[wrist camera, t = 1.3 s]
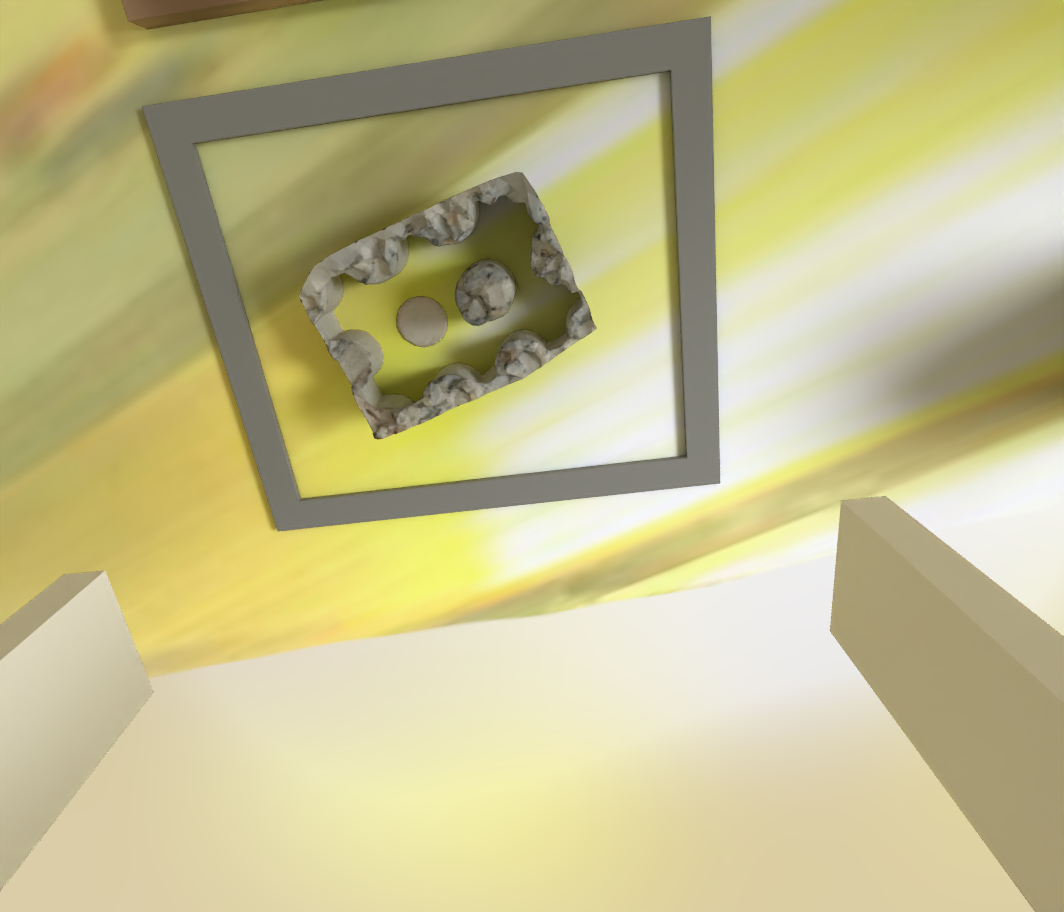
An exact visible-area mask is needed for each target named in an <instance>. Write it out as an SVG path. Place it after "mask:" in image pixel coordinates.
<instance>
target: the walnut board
mask: <svg viewBox="0 0 1064 912" xmlns="http://www.w3.org/2000/svg"><path fill="white" fill-rule="evenodd" d="M314 1H320V0H122V3H123V6H124V9H125V12H126V15H127V19H128V21H129V22H132V23H134V24H137V25H139V26H141V27H144V28H146V29H152V28H158V27H164V26H170V25H176V24H182V23H188V22H194V21H200V20H206V19H212V18H218V17H224V16H230V15H236V14H242V13H248V12H254V11H260V10H266V9H272V8H278V7H284V6H290V5H296V4H302V3H308V2H314Z"/></svg>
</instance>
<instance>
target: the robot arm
mask: <svg viewBox="0 0 1064 912" xmlns="http://www.w3.org/2000/svg"><path fill="white" fill-rule="evenodd" d="M831 614H832V615H831V625H830V632H831V633H832V634H833V636H834V637H835V639H836V640H837V641H838V643H839V644H840V645H841V647H842V648H843V649H844V651H845V652H846V654H847V655H848V656H849V658H850V659H851V660H852V662H853V663H854V664H855V666H856V667H857V669H858V670H859V671H860V673H861V674H862V675H863V677H864V678H865V680H866V681H867V682H868V684H869V685H870V686H871V688H872V689H873V691H874V692H875V693H876V695H877V696H878V697H879V699H880V700H881V701H882V703H883V704H884V706H885V707H886V708H887V710H888V711H889V712H890V714H891V715H892V716H893V718H894V719H895V721H896V722H897V723H898V725H899V726H900V727H901V729H902V730H903V732H904V733H905V734H906V736H907V737H908V739H909V740H910V741H911V743H912V744H913V745H914V747H915V748H916V749H917V751H918V752H919V753H920V755H921V756H922V758H923V759H924V760H925V762H926V763H927V765H928V766H929V767H930V769H931V770H932V771H933V773H934V774H935V775H936V777H937V778H938V779H939V781H940V782H941V784H942V785H943V786H944V788H945V789H946V790H947V792H948V793H949V795H950V796H951V797H952V799H953V800H954V801H955V803H956V804H957V806H958V807H959V808H960V810H961V811H962V812H963V814H964V815H965V817H966V818H967V819H968V821H969V822H970V823H971V825H972V826H973V827H974V829H975V830H976V832H977V833H978V834H979V836H980V837H981V838H982V840H983V841H984V843H985V844H986V845H987V847H988V848H989V849H990V851H991V852H992V854H993V855H994V856H995V858H996V859H997V860H998V862H999V863H1000V864H1001V866H1002V867H1003V869H1004V870H1005V871H1006V873H1007V874H1008V875H1009V877H1010V878H1011V880H1012V881H1013V882H1014V884H1015V885H1016V886H1017V887H1018V889H1019V890H1020V892H1021V893H1022V895H1023V896H1024V897H1025V899H1026V900H1027V901H1028V903H1029V904H1030V906H1031V907H1032V908H1033V910H1034V911H1035V912H1064V636H1063V635H1061V634H1060V633H1059V632H1058V631H1056V630H1055V629H1054V628H1052V627H1051V626H1050V625H1049V624H1047V623H1046V622H1045V621H1044V620H1042V619H1041V618H1040V617H1038V616H1037V615H1036V614H1035V613H1033V612H1032V611H1031V610H1030V609H1028V608H1027V607H1026V606H1024V605H1023V604H1022V603H1021V602H1019V601H1018V600H1017V599H1015V598H1014V597H1013V596H1012V595H1011V594H1009V593H1008V592H1007V591H1005V590H1004V589H1003V588H1002V587H1000V586H999V585H998V584H997V583H995V582H994V581H993V580H991V579H990V578H989V577H988V576H986V575H985V574H984V573H983V572H981V571H980V570H979V569H977V568H976V567H975V566H974V565H972V564H971V563H970V562H968V561H967V560H966V559H965V558H963V557H962V556H961V555H960V554H958V553H957V552H956V551H955V550H953V549H952V548H951V547H949V546H948V545H947V544H946V543H944V542H943V541H942V540H941V539H939V538H938V537H937V536H936V535H934V534H933V533H932V532H930V531H929V530H928V529H927V528H925V527H924V526H923V525H922V524H920V523H919V522H918V521H916V520H915V519H914V518H913V517H911V516H910V515H909V514H908V513H906V512H905V511H904V510H902V509H901V508H900V507H899V506H897V505H896V504H895V503H894V502H892V501H891V500H890V499H889V498H887V497H886V496H881V497H871V498H860V499H850V500H841V508H840V520H839V532H838V543H837V555H836V567H835V579H834V590H833V602H832V613H831ZM153 692H154V691H153V689H152V686H151V684H150V681H149V679H148V676H147V674H146V671H145V669H144V666H143V664H142V661H141V659H140V656H139V654H138V651H137V649H136V646H135V644H134V641H133V639H132V636H131V634H130V631H129V629H128V626H127V624H126V621H125V619H124V616H123V614H122V611H121V609H120V606H119V604H118V601H117V599H116V596H115V594H114V591H113V589H112V586H111V584H110V581H109V579H108V576H107V574H106V571H95V572H85V573H74V574H64V575H62V576H61V577H60V578H58V579H57V580H56V581H55V582H53V583H52V584H51V585H50V586H48V587H47V588H46V589H45V590H43V591H42V592H41V593H39V594H38V595H37V596H36V597H34V598H33V599H32V600H31V601H29V602H28V603H27V604H26V605H24V606H23V607H22V608H21V609H19V610H18V611H17V612H15V613H14V614H13V615H12V616H10V617H9V618H8V619H7V620H5V621H4V622H3V623H2V624H0V892H1V890H2V889H3V888H4V886H5V885H6V884H7V882H8V881H9V880H10V879H11V877H12V876H13V875H14V873H15V872H16V871H17V869H18V868H19V867H20V866H21V864H22V863H23V862H24V860H25V859H26V858H27V856H28V855H29V854H30V853H31V851H32V850H33V849H34V847H35V846H36V845H37V843H38V842H39V840H41V838H42V837H43V835H44V834H45V833H46V832H47V830H48V829H49V828H50V826H51V825H52V824H53V822H54V821H55V820H56V819H57V817H58V816H59V815H60V813H61V812H62V811H63V810H64V808H65V807H66V806H67V804H68V803H69V802H70V800H71V799H72V798H73V796H74V795H75V794H76V793H77V791H78V790H79V789H80V788H81V786H82V785H83V784H84V782H85V781H86V780H87V778H88V777H89V776H90V774H91V773H92V772H93V771H94V769H95V768H96V766H97V765H98V764H99V763H100V761H101V760H102V759H103V758H104V756H105V755H106V754H107V752H108V751H109V750H110V748H111V747H112V746H113V745H114V743H115V742H116V741H117V739H118V738H119V737H120V735H121V734H122V733H123V732H124V730H125V729H126V728H127V726H128V725H129V724H130V722H131V721H132V720H133V718H134V717H135V716H136V715H137V713H138V712H139V711H140V709H141V708H142V707H143V705H144V704H145V703H146V702H147V700H148V699H149V698H150V696H151V695H152V694H153Z"/></svg>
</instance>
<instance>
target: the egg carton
mask: <svg viewBox="0 0 1064 912" xmlns="http://www.w3.org/2000/svg"><path fill="white" fill-rule="evenodd" d="M501 196H503V197H505V198H507V199H508V200H510V201H512V202H516V203H525V204H526V208H527V211H528V215H529V216H530V218H531V219H532V220H533V221H534V222H535V223H537V224H538V226H539V227H538V229H537V231H536V232H535V234H534V236H533V237H532V239H531V253H530V254H531V268H532V270H533V272H534V274H535V276H536V277H541V278H544V279H545V280H546V281H548V283H549V284H551V285H566V287H567V288H568V290H569V291H570V292H571V293H575V292H578V293H579V295H580V298H579V299H578V300H577V301H576V302H575V303H574V304H573V305H572V306H571V308H570V309H569V311H568V313H567V317H566V332H565V334H563V335H562V336H561V337H559V338H557V339H555V340H552V341H549V342H546V341H545V340H544V339H543V338H542V337H541V336H540V335H539V334H537V333H535V332H533V331H529V330H526V329H525V330H519V331H515V332H513V333H511V334H510V335H508V336H507V337H506V338H505V339H504V340H503V341H502V343H501V345H500V347H499V350H498V352H497V355H496V360H495V365H494V366H493V367H492V368H491V369H489V370H488V371H487V372H485V373H484V374H482V375H481V374H480V373H479V372H478V371H477V370H476V369H474V368H473V367H472V366H470V365H467V364H462V363H453V364H449V365H447V366H445V367H444V368H443V369H441V370H440V371H439V373H438V374H437V376H436V377H435V379H434V380H433V381H431V382H430V383H429V384H428V385H427V387H426V388H425V390H424V392H423V396H422V398H421V399H419V400H418V401H416V402H413V401H412V400H411V399H410V398H408V397H406V396H404V395H399V394H390V395H383V394H382V393H381V392H380V390H379V388H378V386H377V385H376V383H375V381H374V379H373V376H374V375H375V374H376V373H377V372H378V371H379V370H380V368H381V366H382V364H383V357H384V356H383V350H382V348H381V346H380V344H379V342H378V341H377V340H376V339H375V338H374V337H373V336H372V335H371V334H369V333H368V332H365V331H362V330H348V331H344V330H343V329H342V328H341V326H340V324H339V322H338V320H337V318H336V316H335V314H334V309H335V308H336V307H337V306H338V304H339V303H340V301H341V299H342V297H343V284H342V281H341V279H340V274H342V273H345V274H348V275H350V276H351V277H353V278H354V279H356V280H357V281H359V282H362V283H364V284H365V285H367V284H380V283H383V282H385V281H387V280H389V279H391V278H392V277H394V276H396V275H397V274H399V273H400V272H401V271H402V270H403V268H404V267H405V266H406V264H407V261H408V255H409V249H408V243H407V236H408V235H412V236H414V237H421V236H422V237H424V238H426V239H427V240H429V241H430V242H431V244H433V245H436V246H443V245H450V244H459V243H461V242H462V241H463V240H464V239H466V238H467V237H468V236H469V235H470V234H471V233H472V232H473V231H474V230H475V228H476V226H477V223H478V220H479V205H478V201H481V202H483V203H486V204H489V205H491V204H493V203H495V202H496V200H497V199H498V197H501ZM549 221H550V219H549V217H548V214H547V212H546V210H545V208H544V206H543V204H542V203H541V201H540V199H539V198H538V196H537V194H536V192H535V190H534V189H533V188H532V186H531V185H530V183H529V182H528V180H527V179H526V177H525V176H524V174H523V173H521V172H515V173H511V174H508V175H505V176H502V177H498V178H496V179H493V180H490V181H488V182H485V183H483V184H480V185H478V186H476V187H473V188H471V189H469V190H467V191H465V192H462V193H460V194H458V195H456V196H454V197H451V198H449V199H447V200H445V201H443V202H440V203H438V204H436V205H434V206H432V207H430V208H429V209H426V210H423V211H421V212H418V213H416V214H414V215H411V216H409V217H407V218H405V219H404V220H402V221H400V222H398V223H396V224H393V225H391V226H389V227H387V228H385V229H382V230H380V231H378V232H376V233H374V234H372V235H370V236H368V237H365V238H363V239H360V240H358V241H356V242H354V243H352V244H350V245H349V246H347V247H345V248H343V249H341V250H339V251H337V252H336V253H334V254H332V255H330V256H328V257H327V258H325V259H324V260H322V261H321V262H319V263H318V264H316V265H315V267H314V268H313V269H312V271H311V272H310V273H309V275H308V277H307V280H306V282H305V284H304V286H303V288H302V290H301V292H300V294H299V298H300V300H301V302H302V304H303V306H304V307H305V310H306V312H307V314H308V316H309V318H310V320H311V322H312V323H313V324H314V325H315V326H316V328H317V330H318V331H319V333H320V335H321V336H322V338H323V340H324V342H325V344H326V346H327V348H328V351H329V353H330V355H331V356H332V358H333V359H334V360H337V361H338V362H339V364H340V366H341V368H342V369H343V371H344V373H345V375H346V376H347V378H348V380H349V381H350V383H351V385H352V387H351V388H352V392H353V395H354V398H355V400H356V402H357V404H358V406H359V408H360V410H361V411H362V413H363V415H364V416H365V418H366V419H367V421H368V423H369V425H370V427H371V429H372V431H373V436H374V438H375V439H383V438H385V437H388V436H390V435H392V434H397V433H399V432H402V431H404V430H406V429H408V428H410V427H413V426H416V425H419V424H421V423H423V422H425V421H428V420H430V419H432V418H434V417H436V416H438V415H441V414H442V413H444V412H445V411H447V410H449V409H452V408H454V407H456V406H459V405H461V404H464V403H467V402H470V401H472V400H475V399H477V398H480V397H481V396H483V395H484V394H486V393H489V392H492V391H494V390H497V389H499V388H502V387H504V386H506V385H508V384H511V383H513V382H516V381H518V380H521V379H523V378H525V377H526V376H528V375H529V374H531V373H532V372H534V371H535V370H537V369H538V368H540V367H541V366H543V365H544V364H546V363H547V362H549V361H550V360H551V359H553V358H554V357H555V356H557V355H558V354H560V353H561V352H563V351H564V350H566V349H567V348H568V347H570V346H571V345H572V344H574V343H575V342H577V341H578V340H580V339H582V338H584V337H586V336H587V335H589V334H590V333H592V332H593V331H594V330H595V329H596V326H595V325H594V322H593V320H592V317H591V312H590V309H589V306H588V304H587V302H586V299H585V297H584V296H583V294H582V292H581V291H580V290H579V289H578V287H577V286H576V283H575V280H574V276H573V272H572V270H571V267H570V265H569V263H568V261H567V259H566V258H565V256H564V255H563V252H562V249H561V246H560V244H559V242H558V240H557V238H556V236H555V234H554V231H553V229H552V228H551V226H550V222H549ZM515 281H516V280H515V278H514V275H513V274H512V272H511V271H510V270H509V269H508V268H507V267H506V266H505V265H504V264H502V263H500V262H498V261H495V260H492V259H484V260H481V261H478V262H476V263H474V264H473V265H471V266H470V267H469V268H467V269H466V271H465V272H464V273H463V274H462V276H461V278H460V279H459V281H458V283H457V286H456V290H455V300H456V304H457V306H458V308H459V310H460V312H461V314H462V317H463V318H464V319H465V321H466V322H468V323H469V324H471V325H476V326H479V325H482V324H484V323H486V322H487V321H493V320H496V319H498V318H500V317H503V316H504V315H505V314H506V313H507V312H508V311H509V309H510V307H511V305H512V303H513V300H514V296H515V292H516V284H517V283H516V284H515ZM517 286H518V285H517ZM518 288H519V287H518ZM519 290H520V289H519ZM447 326H448V319H447V315H446V312H445V310H444V309H443V308H442V306H441V305H440V304H439V303H438V302H436V301H435V300H433V299H431V298H428V297H424V296H421V297H413V298H410V299H408V300H407V301H405V302H404V303H403V304H402V306H401V307H400V309H399V311H398V315H397V327H398V329H399V331H400V334H401V335H402V336H403V338H404V339H405V340H408V341H409V342H410V343H412V344H413V345H415V346H421V347H428V346H432V345H435V344H436V343H437V342H440V339H442V338H443V337H444V335H445V333H446V330H447Z"/></svg>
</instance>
